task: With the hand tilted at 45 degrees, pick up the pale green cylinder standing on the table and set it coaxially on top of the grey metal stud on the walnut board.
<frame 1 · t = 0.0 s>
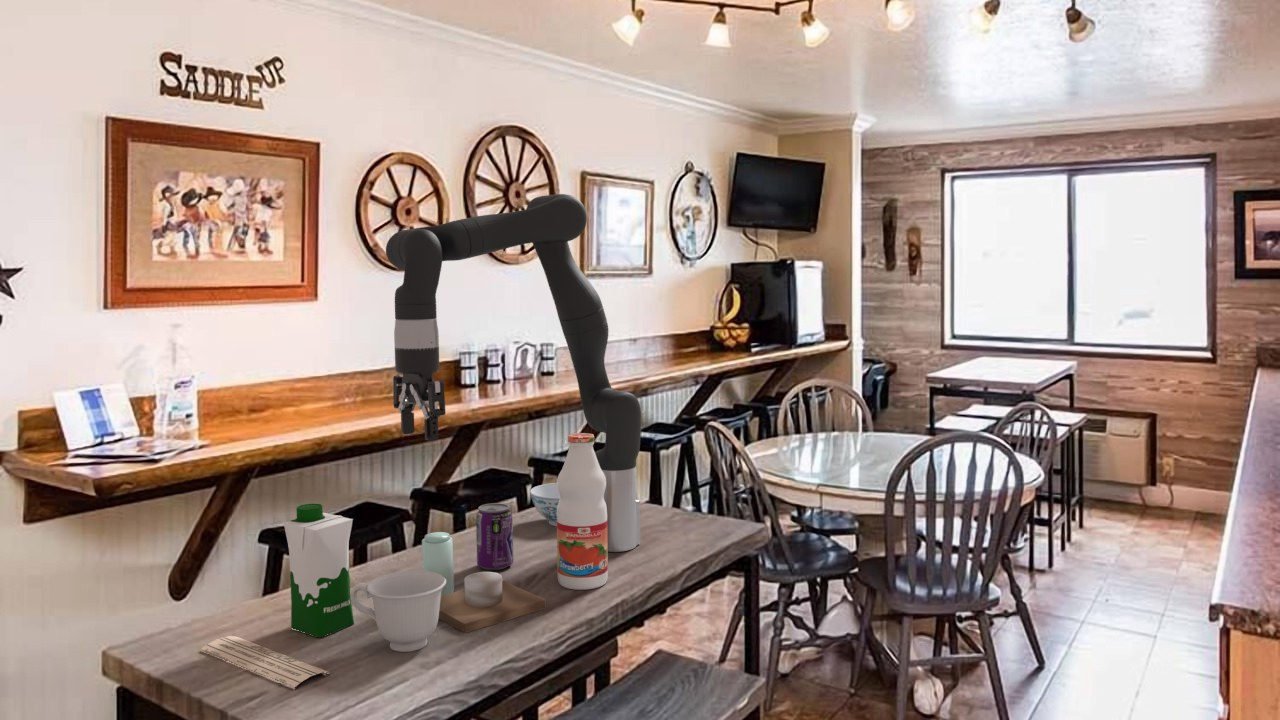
hand: (419, 436, 161), 29 cm above the table, tool pointing down, fingers open, 8 cm apart
beverage can: (495, 567, 181), on the table
newspaper: (267, 667, 138), on the table
teacup: (399, 645, 144), on the table
pale green cylinder: (438, 593, 166), on the table
strawberry yogurt bottle: (582, 583, 172), on the table
milk carton: (323, 628, 151), on the table
stud base: (484, 608, 159), on the table
chinaware: (563, 523, 212), on the table
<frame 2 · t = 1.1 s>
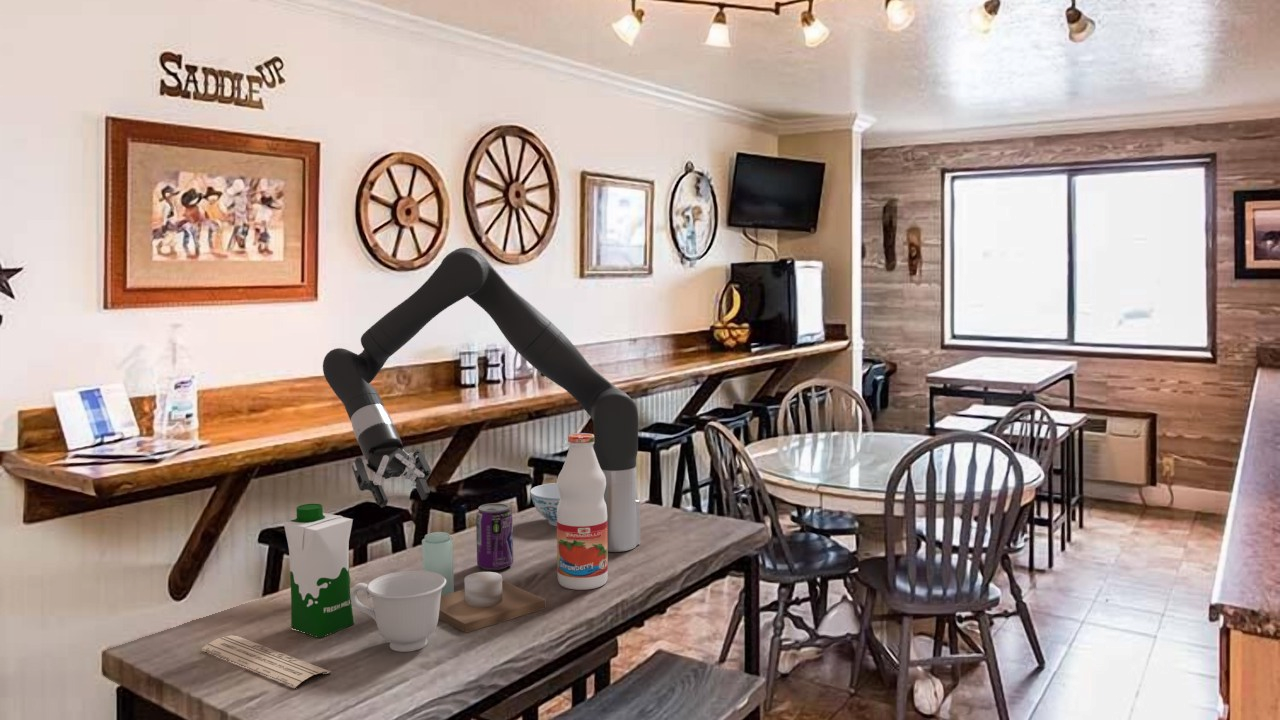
hand: (405, 501, 173), 15 cm above the table, tool tilted 45°, fingers open, 8 cm apart
nothing on the table moved.
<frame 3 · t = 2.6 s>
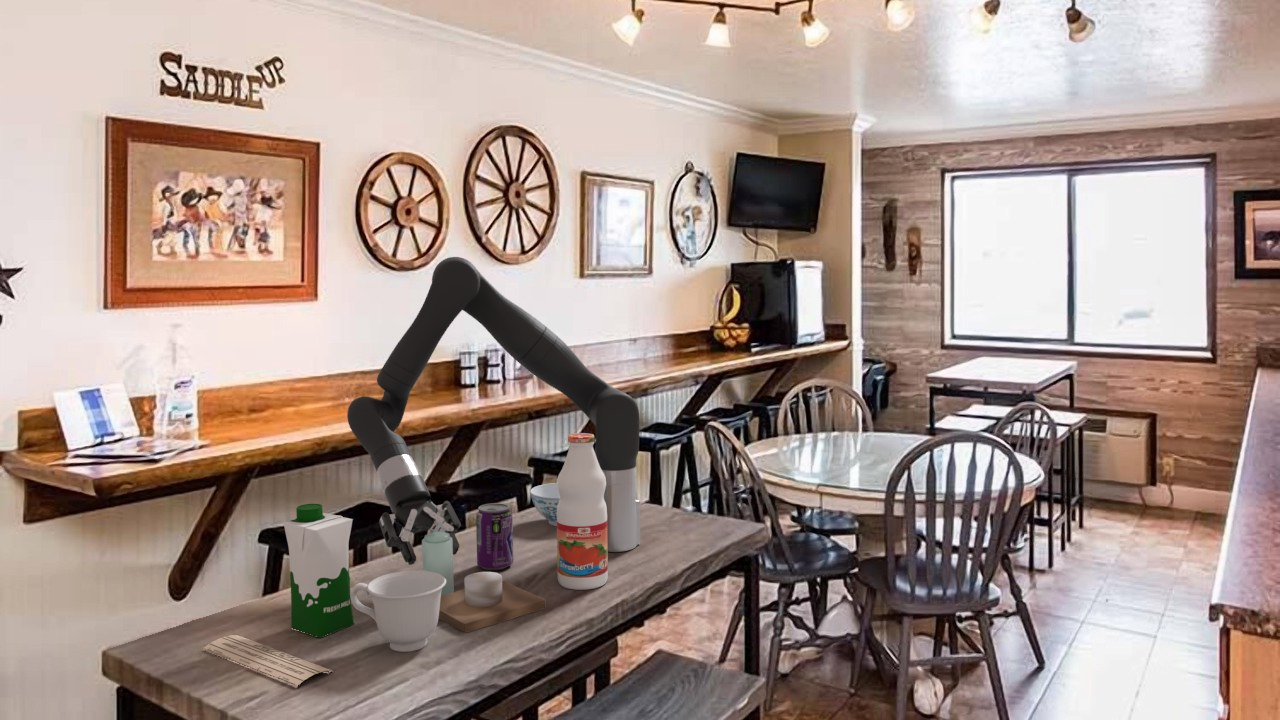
hand: (434, 557, 166), 6 cm above the table, tool tilted 45°, fingers open, 8 cm apart
nothing on the table moved.
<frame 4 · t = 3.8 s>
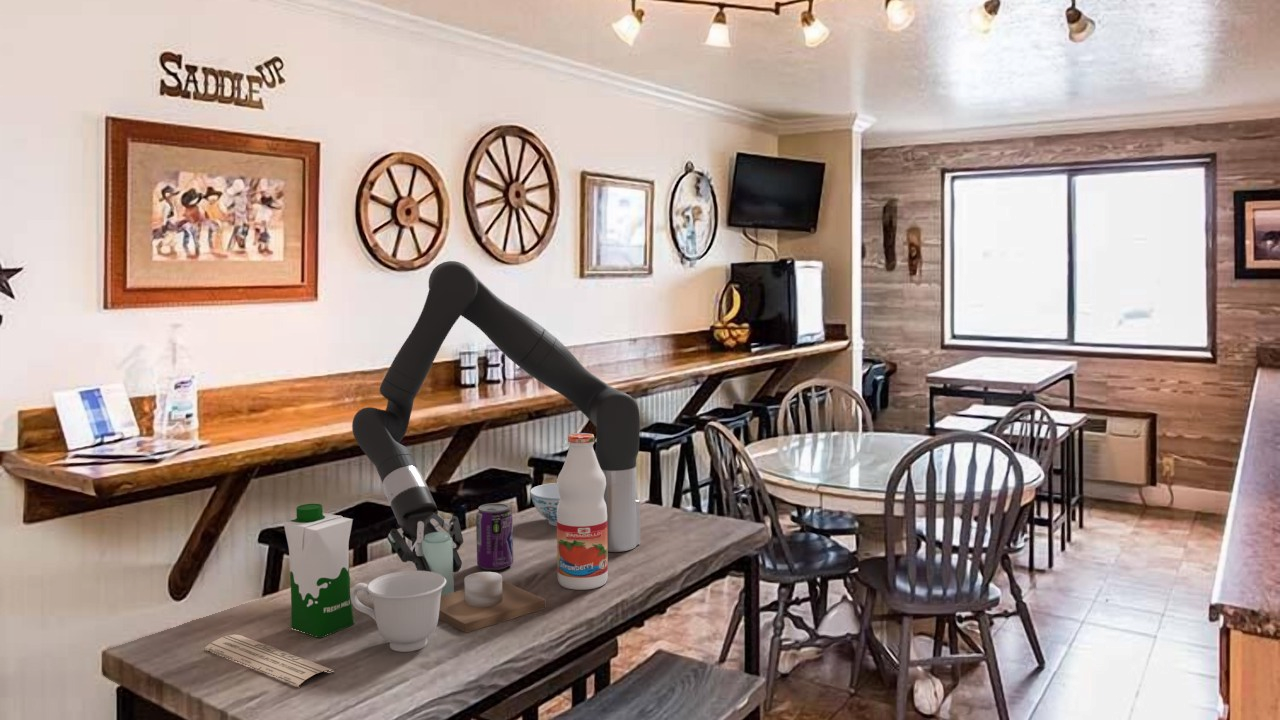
hand: (443, 573, 164), 4 cm above the table, tool tilted 45°, fingers closed on pale green cylinder, 5 cm apart
pale green cylinder: (438, 593, 166), on the table, touching gripper
everything else where it was.
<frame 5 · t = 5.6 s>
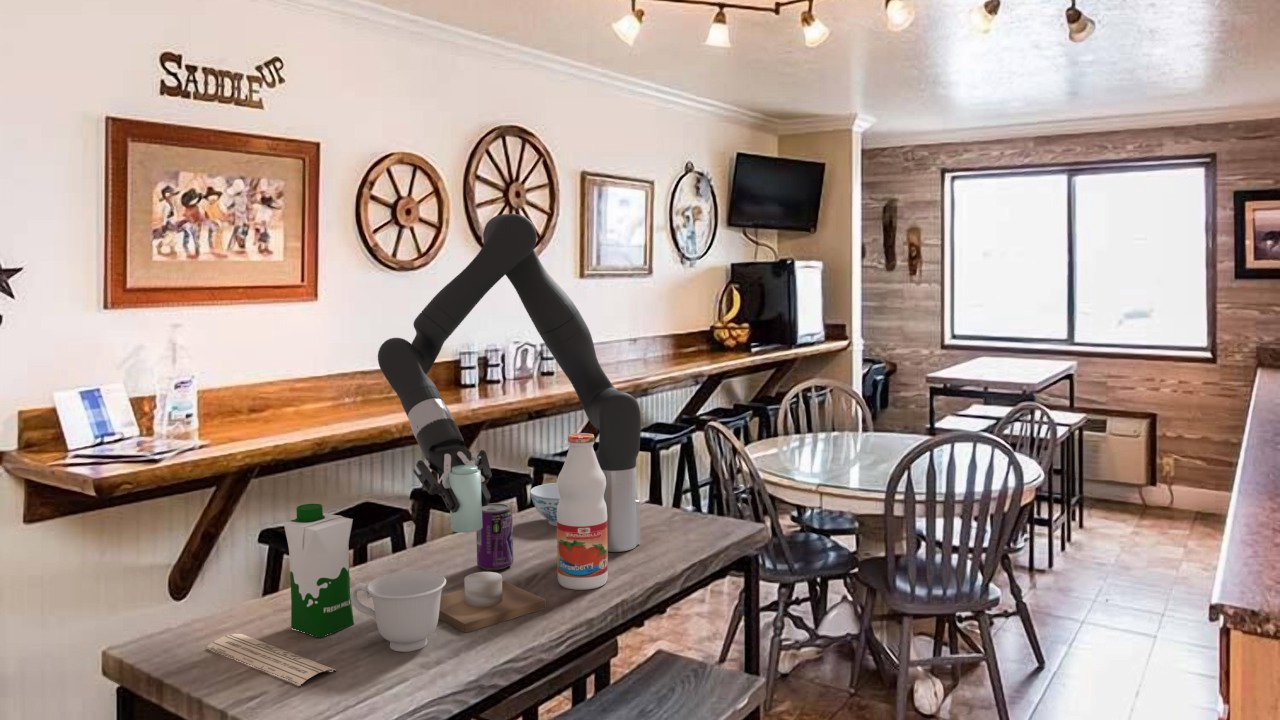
hand: (471, 506, 158), 18 cm above the table, tool tilted 45°, fingers closed on pale green cylinder, 5 cm apart
pale green cylinder: (466, 528, 160), point 14 cm above the table, touching gripper
when the fingers open (11 cm above the table, at t = 7.8 s): pale green cylinder stays where it is, resting on stud base.
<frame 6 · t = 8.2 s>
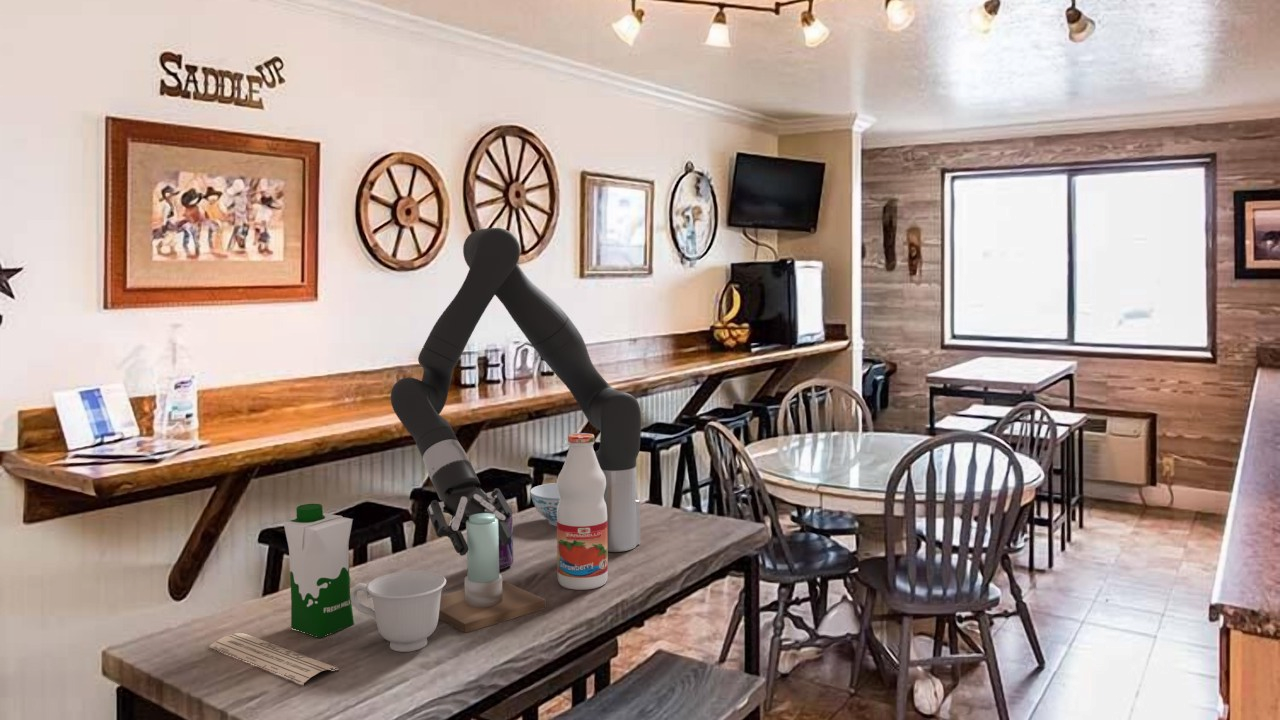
hand: (486, 547, 157), 11 cm above the table, tool tilted 45°, fingers open, 8 cm apart
pale green cylinder: (483, 577, 158), point 6 cm above the table, touching stud base
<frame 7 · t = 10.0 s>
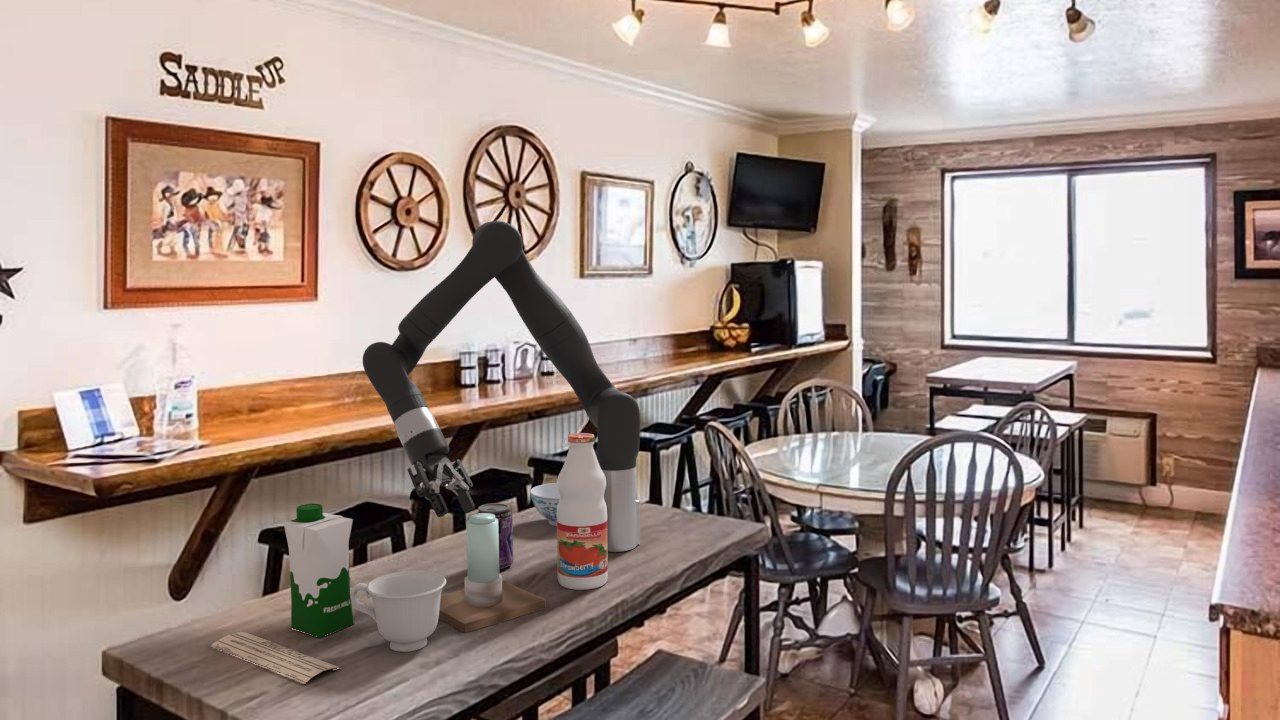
hand: (457, 513, 168), 14 cm above the table, tool tilted 35°, fingers open, 8 cm apart
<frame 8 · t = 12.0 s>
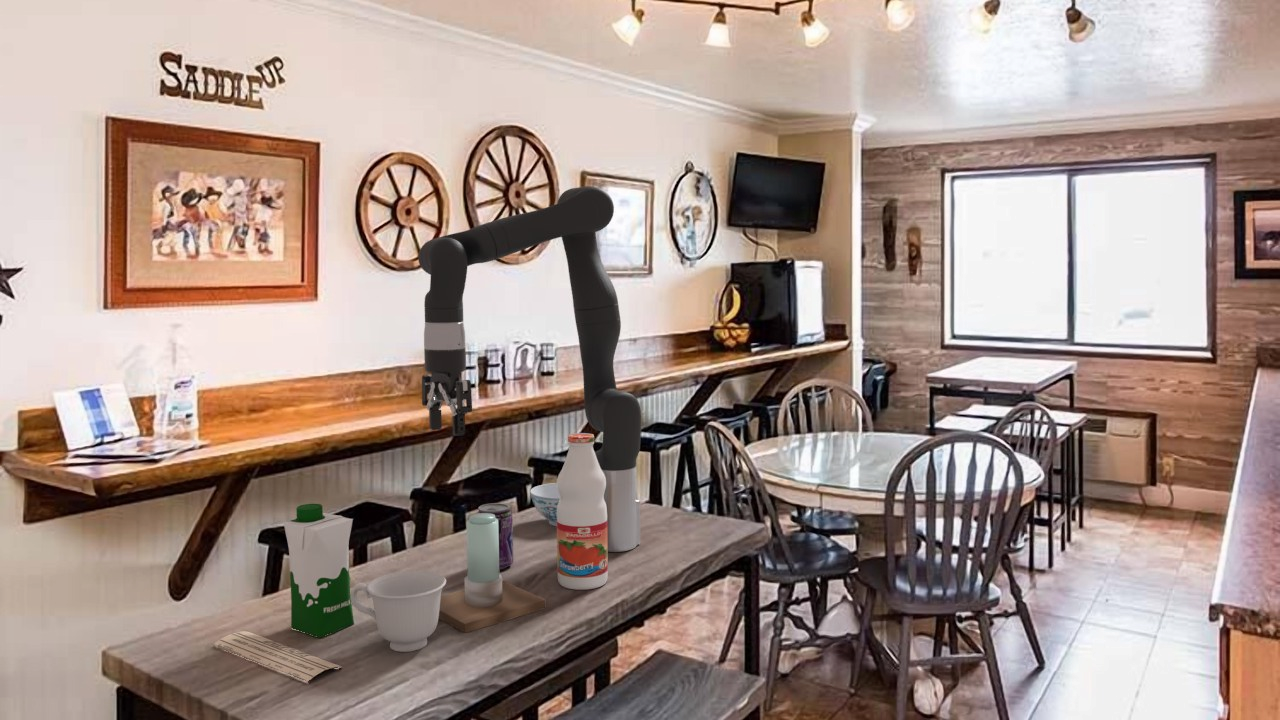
hand: (447, 432, 172), 28 cm above the table, tool pointing down, fingers open, 8 cm apart
at the end: pale green cylinder 0.1 cm off-centre on the stud base, point 5.5 cm above the stud base's base; pale green cylinder tilted 0°; the gripper is holding nothing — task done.
